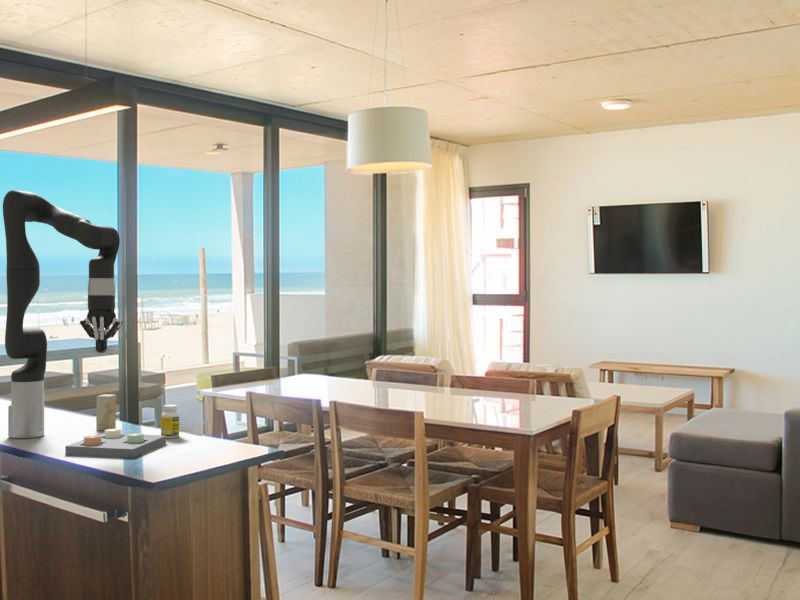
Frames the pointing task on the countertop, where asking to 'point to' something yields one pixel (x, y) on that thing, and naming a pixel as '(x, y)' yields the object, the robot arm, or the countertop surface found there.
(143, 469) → the countertop surface
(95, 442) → the terracotta button
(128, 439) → the sage button
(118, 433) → the cream piece
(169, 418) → the supplement bottle
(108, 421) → the box
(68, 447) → the panel
